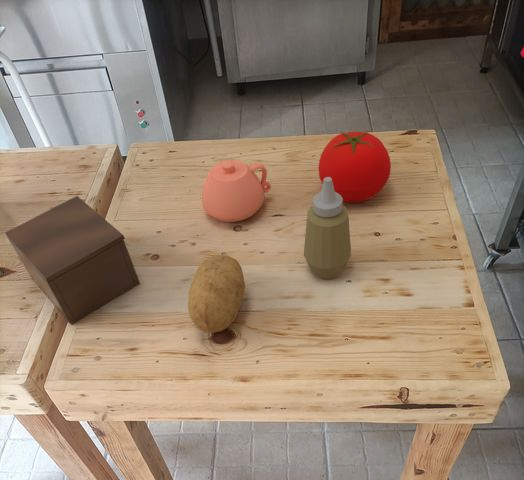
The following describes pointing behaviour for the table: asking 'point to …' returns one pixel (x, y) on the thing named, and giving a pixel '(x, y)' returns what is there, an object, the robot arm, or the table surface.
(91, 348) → the table surface
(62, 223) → the lid
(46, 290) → the chest
